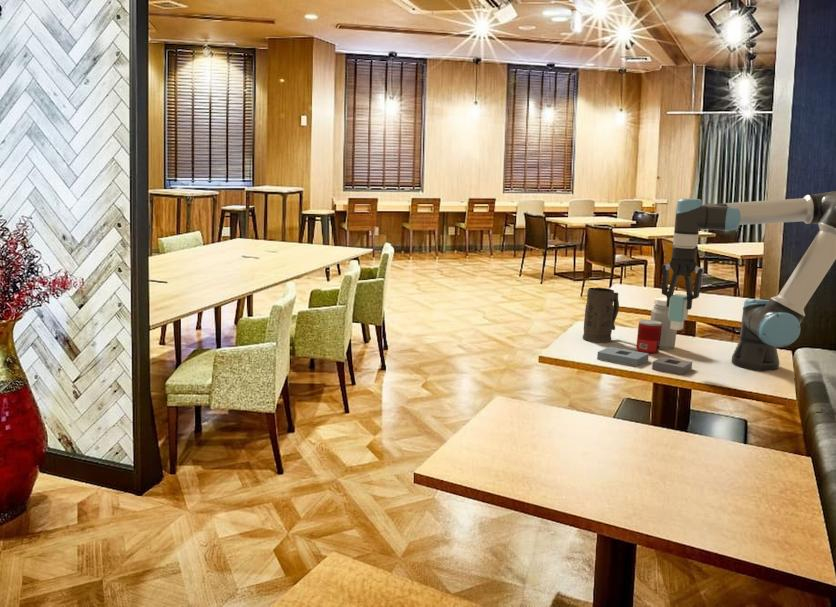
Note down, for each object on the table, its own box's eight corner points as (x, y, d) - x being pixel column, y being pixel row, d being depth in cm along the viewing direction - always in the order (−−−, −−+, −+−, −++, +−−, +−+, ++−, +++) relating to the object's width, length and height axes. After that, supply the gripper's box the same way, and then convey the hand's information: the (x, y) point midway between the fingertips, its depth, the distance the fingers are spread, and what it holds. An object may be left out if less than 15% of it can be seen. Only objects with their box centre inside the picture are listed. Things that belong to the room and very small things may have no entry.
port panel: (648, 360, 270) (648, 353, 269) (636, 366, 261) (637, 359, 261) (609, 353, 278) (610, 346, 277) (597, 358, 269) (597, 351, 268)
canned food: (661, 354, 280) (664, 324, 278) (639, 353, 280) (642, 323, 278) (655, 349, 287) (658, 320, 285) (633, 348, 287) (636, 319, 285)
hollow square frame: (691, 369, 261) (692, 361, 260) (682, 374, 253) (683, 367, 252) (661, 363, 267) (662, 356, 266) (651, 369, 259) (652, 361, 258)
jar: (671, 351, 286) (676, 302, 283) (644, 346, 291) (649, 299, 288) (677, 346, 294) (682, 299, 291) (651, 342, 299) (656, 295, 296)
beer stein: (599, 344, 291) (606, 291, 289) (575, 338, 299) (582, 286, 297) (622, 342, 302) (629, 290, 299) (598, 336, 310) (605, 286, 307)
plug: (685, 328, 259) (688, 295, 257) (679, 331, 254) (683, 297, 252) (673, 326, 261) (676, 293, 259) (667, 329, 256) (670, 296, 254)
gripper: (715, 248, 251) (707, 320, 255) (662, 243, 260) (655, 312, 264) (708, 250, 245) (700, 323, 249) (654, 245, 254) (648, 315, 258)
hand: (677, 317), depth 257 cm, fingers closed on plug, 4 cm apart
